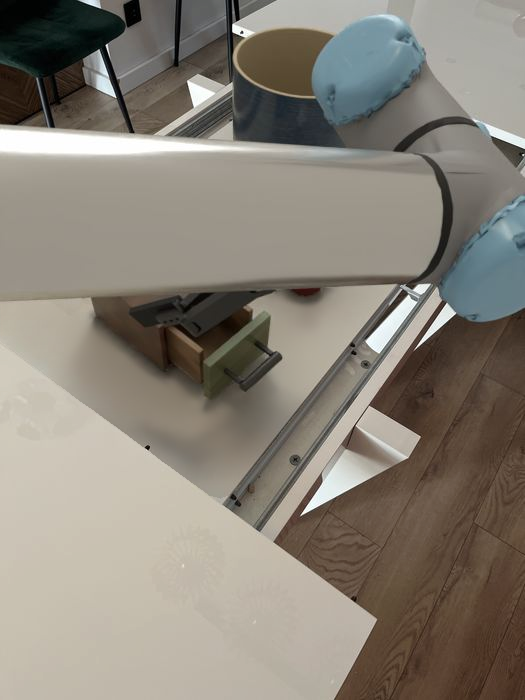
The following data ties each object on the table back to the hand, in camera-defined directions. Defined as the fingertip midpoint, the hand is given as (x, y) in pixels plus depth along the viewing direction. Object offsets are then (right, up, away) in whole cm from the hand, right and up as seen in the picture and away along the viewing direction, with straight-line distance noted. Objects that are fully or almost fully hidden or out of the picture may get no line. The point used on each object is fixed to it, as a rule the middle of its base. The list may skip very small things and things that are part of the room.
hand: (152, 269), depth 66 cm
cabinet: (-2, -4, +20) cm, 21 cm away
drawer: (+6, -10, +16) cm, 19 cm away
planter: (+18, +25, +44) cm, 53 cm away
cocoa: (+18, +1, +26) cm, 32 cm away
